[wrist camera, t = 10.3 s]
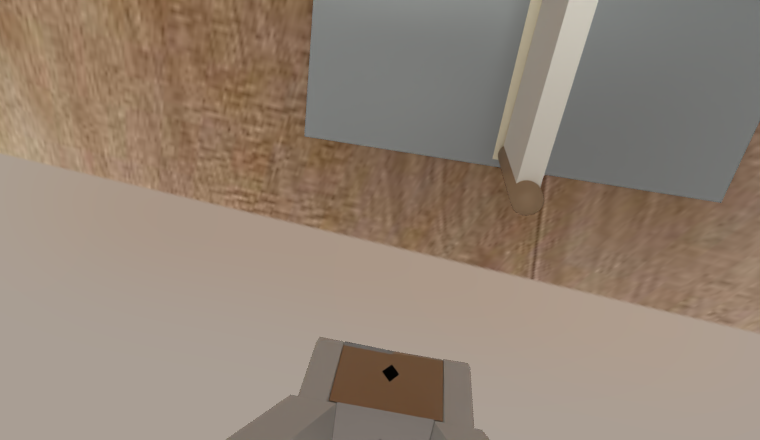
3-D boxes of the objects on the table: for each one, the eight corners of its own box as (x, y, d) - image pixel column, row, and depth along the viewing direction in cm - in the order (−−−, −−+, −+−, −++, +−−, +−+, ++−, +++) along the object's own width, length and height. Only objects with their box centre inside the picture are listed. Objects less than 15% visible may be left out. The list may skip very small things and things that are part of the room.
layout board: (858, -100, 25) (865, -101, 25) (718, 199, 32) (721, 203, 32) (326, -173, 26) (324, -175, 26) (305, 134, 33) (304, 136, 33)
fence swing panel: (548, -38, 27) (578, -38, 21) (579, -33, 27) (618, -31, 21) (494, 165, 32) (507, 212, 26) (520, 170, 32) (538, 217, 26)
